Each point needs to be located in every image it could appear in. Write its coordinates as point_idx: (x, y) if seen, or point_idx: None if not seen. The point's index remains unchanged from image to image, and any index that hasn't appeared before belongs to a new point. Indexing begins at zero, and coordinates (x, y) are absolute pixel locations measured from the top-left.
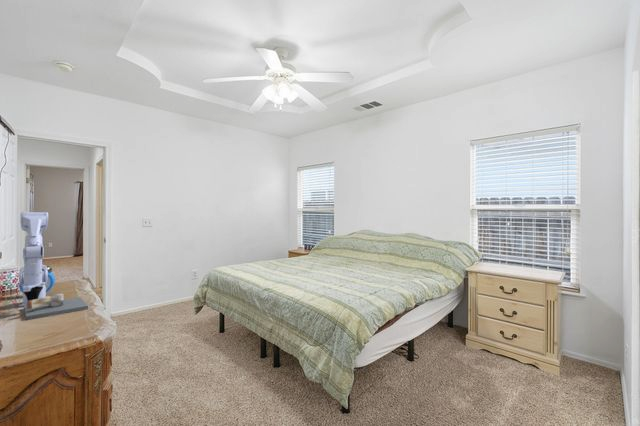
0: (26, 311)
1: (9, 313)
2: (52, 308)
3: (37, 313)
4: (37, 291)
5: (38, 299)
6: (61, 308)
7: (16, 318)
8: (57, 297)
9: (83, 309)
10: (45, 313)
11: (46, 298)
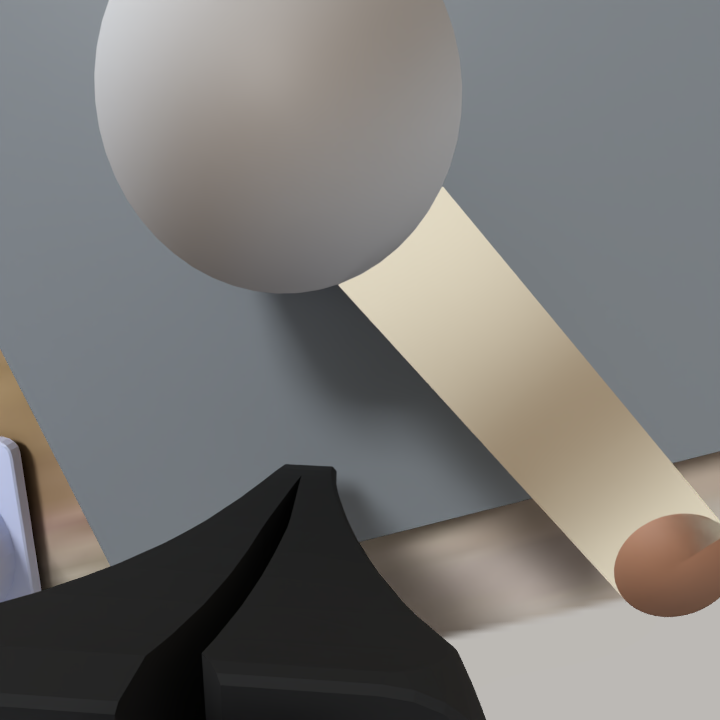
0: (488, 496)
1: None
2: (500, 188)
3: (709, 331)
4: (448, 657)
5: (615, 436)
6: (592, 24)
7: None
8: (445, 43)
9: None
10: None
11: (525, 289)
